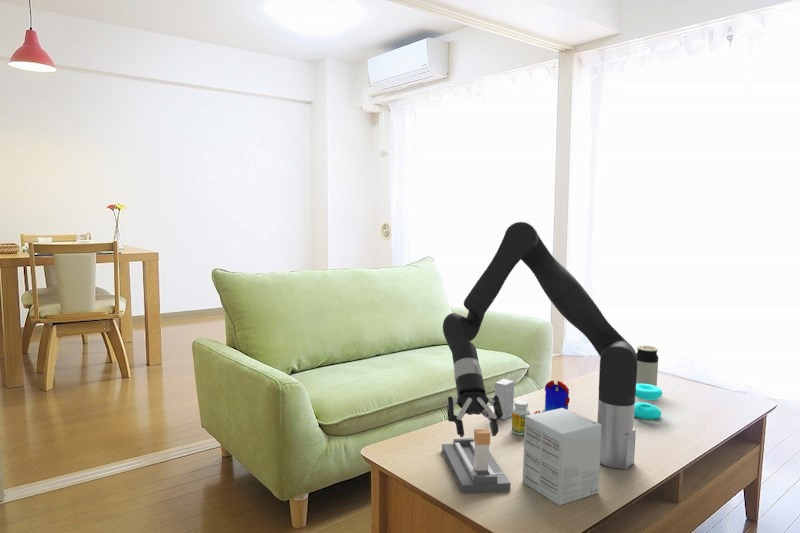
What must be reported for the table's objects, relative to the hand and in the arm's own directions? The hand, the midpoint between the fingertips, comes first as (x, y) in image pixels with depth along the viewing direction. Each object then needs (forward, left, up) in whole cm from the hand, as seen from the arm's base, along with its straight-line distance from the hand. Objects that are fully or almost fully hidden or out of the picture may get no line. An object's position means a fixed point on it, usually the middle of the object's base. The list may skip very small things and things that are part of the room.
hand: (478, 435), depth 139 cm
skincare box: (+18, -42, -11) cm, 47 cm away
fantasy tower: (+6, -56, -11) cm, 57 cm away
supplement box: (-18, -10, -11) cm, 23 cm away
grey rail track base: (+3, -3, -11) cm, 12 cm away
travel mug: (-8, -101, -11) cm, 102 cm away
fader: (-2, +2, -9) cm, 9 cm away
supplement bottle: (+7, -34, -11) cm, 36 cm away
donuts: (-16, -77, -11) cm, 79 cm away
